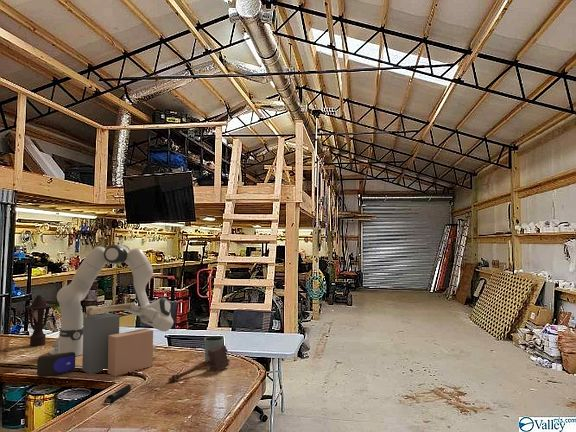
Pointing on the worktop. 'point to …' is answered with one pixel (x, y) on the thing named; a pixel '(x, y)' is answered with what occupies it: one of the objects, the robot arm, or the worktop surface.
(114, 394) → the electric trimmer
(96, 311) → the T-bar
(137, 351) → the tan upright block
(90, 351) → the grey upright block
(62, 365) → the leaning round-cornered charcoal block
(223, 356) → the hammer
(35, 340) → the lantern
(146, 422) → the worktop surface
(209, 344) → the grey green cup
